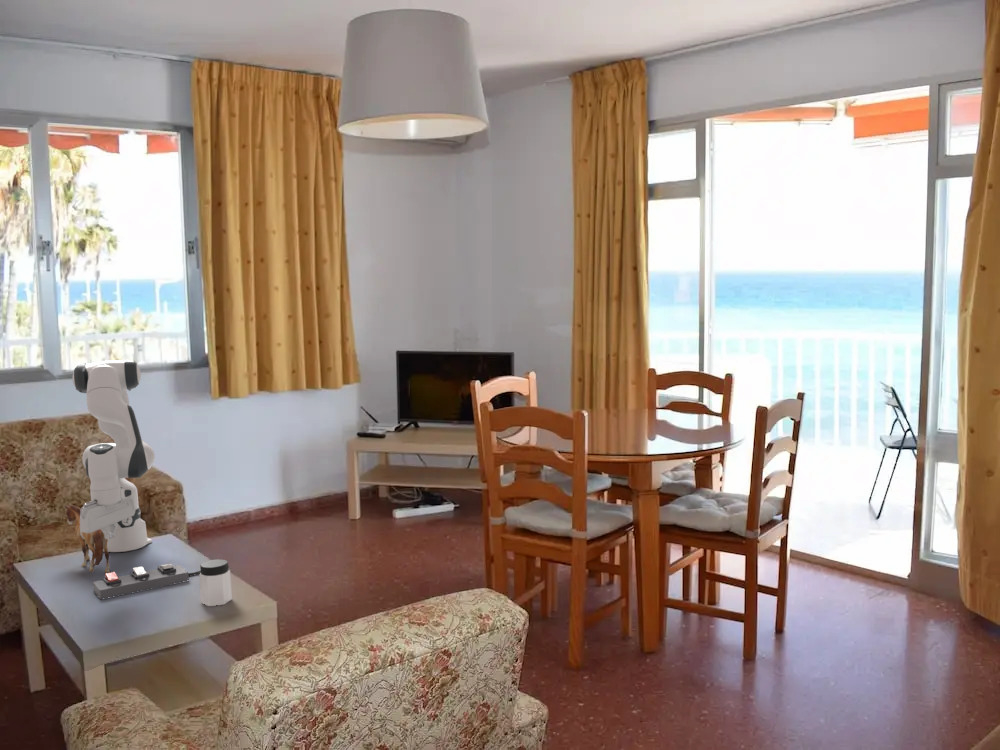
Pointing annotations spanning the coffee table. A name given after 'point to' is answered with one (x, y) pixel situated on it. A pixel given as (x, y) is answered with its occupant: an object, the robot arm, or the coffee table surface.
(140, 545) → the robot arm
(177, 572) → the grey switch panel
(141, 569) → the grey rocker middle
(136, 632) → the coffee table surface
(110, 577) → the red rocker
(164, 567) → the grey rocker end
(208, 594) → the jar
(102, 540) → the horse figurine
